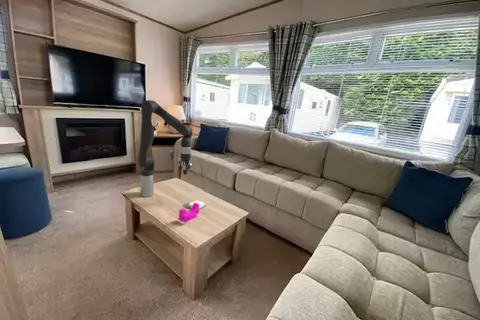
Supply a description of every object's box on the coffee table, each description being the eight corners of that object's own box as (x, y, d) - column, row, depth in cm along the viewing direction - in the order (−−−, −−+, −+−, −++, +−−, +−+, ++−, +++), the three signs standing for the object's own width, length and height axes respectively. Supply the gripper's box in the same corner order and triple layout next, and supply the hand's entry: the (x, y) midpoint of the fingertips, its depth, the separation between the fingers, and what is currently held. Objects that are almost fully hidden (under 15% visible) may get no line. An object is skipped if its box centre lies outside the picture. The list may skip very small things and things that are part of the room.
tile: (188, 203, 163) (196, 207, 159) (197, 200, 170) (204, 203, 166) (188, 206, 163) (196, 210, 159) (197, 203, 171) (204, 206, 167)
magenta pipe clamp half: (185, 222, 142) (185, 212, 140) (179, 219, 145) (179, 209, 144) (201, 214, 154) (201, 205, 153) (195, 211, 158) (195, 202, 156)
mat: (182, 205, 165) (182, 205, 165) (193, 201, 175) (193, 200, 175) (195, 211, 158) (195, 211, 158) (206, 206, 168) (206, 205, 168)
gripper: (175, 151, 163) (175, 173, 167) (188, 154, 156) (187, 177, 160) (183, 150, 169) (182, 171, 173) (195, 153, 162) (194, 175, 166)
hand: (185, 174), depth 167 cm, fingers closed
